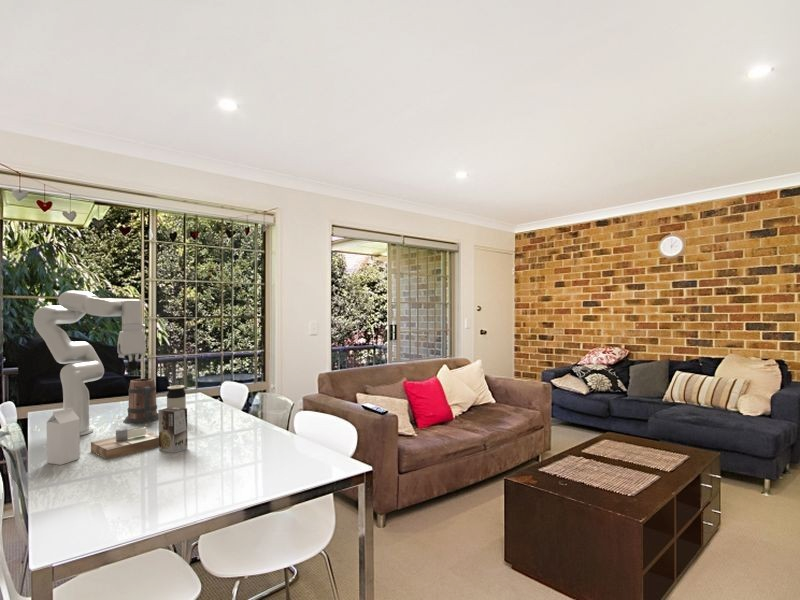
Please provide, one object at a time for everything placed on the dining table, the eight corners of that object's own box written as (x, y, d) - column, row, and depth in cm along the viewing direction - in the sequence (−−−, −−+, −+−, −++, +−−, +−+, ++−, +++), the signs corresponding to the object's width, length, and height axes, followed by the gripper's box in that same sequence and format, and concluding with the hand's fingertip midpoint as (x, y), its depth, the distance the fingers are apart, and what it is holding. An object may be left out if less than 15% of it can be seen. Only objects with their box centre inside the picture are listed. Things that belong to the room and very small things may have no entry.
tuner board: (91, 451, 181) (90, 441, 181) (144, 438, 196) (144, 430, 197) (107, 459, 171) (107, 449, 171) (162, 445, 187) (162, 436, 187)
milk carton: (80, 459, 172) (79, 408, 172) (60, 465, 165) (60, 412, 165) (66, 457, 174) (66, 406, 174) (46, 463, 167) (46, 411, 167)
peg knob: (117, 442, 179) (117, 431, 179) (114, 440, 182) (114, 430, 182) (146, 436, 187) (146, 426, 187) (143, 434, 190) (143, 424, 190)
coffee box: (188, 448, 182) (188, 408, 182) (174, 453, 177) (174, 411, 177) (172, 445, 186) (172, 406, 186) (158, 450, 180) (157, 409, 180)
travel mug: (169, 427, 214) (169, 388, 214) (165, 424, 220) (164, 386, 220) (187, 424, 219) (187, 386, 219) (182, 421, 225) (182, 384, 225)
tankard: (119, 419, 230) (119, 379, 230) (156, 413, 241) (156, 375, 241) (129, 428, 213) (129, 385, 213) (169, 422, 224) (168, 381, 224)
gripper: (146, 326, 207) (146, 367, 207) (109, 328, 195) (109, 371, 195) (153, 327, 202) (154, 368, 202) (116, 329, 190) (117, 373, 190)
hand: (132, 370), depth 199 cm, fingers closed
